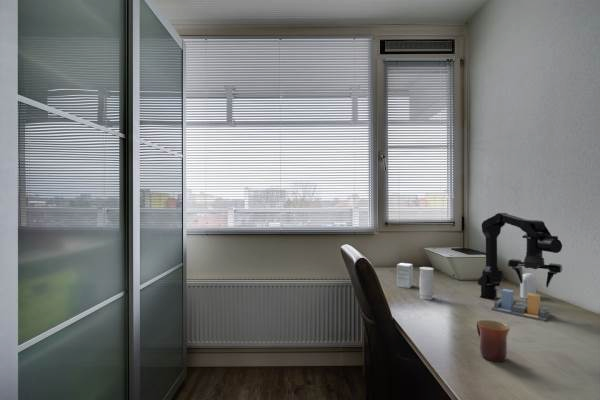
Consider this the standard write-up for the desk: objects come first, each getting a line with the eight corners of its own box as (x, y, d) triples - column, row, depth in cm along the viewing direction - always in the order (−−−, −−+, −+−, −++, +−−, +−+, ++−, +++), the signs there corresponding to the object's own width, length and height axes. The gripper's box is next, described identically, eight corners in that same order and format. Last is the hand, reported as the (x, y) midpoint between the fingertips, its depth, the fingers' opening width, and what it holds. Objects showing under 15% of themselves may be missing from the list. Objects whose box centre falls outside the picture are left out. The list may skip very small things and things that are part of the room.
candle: (419, 299, 169) (419, 269, 169) (419, 295, 175) (419, 266, 175) (433, 300, 166) (434, 270, 166) (433, 296, 173) (433, 267, 173)
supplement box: (400, 283, 199) (400, 262, 199) (413, 285, 195) (413, 264, 195) (396, 286, 193) (396, 264, 193) (409, 288, 189) (409, 265, 189)
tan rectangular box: (529, 311, 149) (529, 293, 149) (540, 313, 146) (540, 294, 146) (527, 313, 146) (527, 294, 146) (538, 315, 144) (538, 296, 144)
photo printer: (527, 294, 179) (527, 271, 179) (536, 296, 175) (537, 272, 175) (518, 297, 173) (518, 273, 173) (527, 299, 169) (528, 275, 169)
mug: (516, 363, 102) (516, 330, 102) (488, 364, 102) (489, 330, 102) (490, 346, 114) (490, 316, 114) (466, 347, 114) (466, 316, 114)
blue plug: (501, 307, 153) (501, 290, 153) (503, 305, 156) (503, 288, 156) (511, 309, 151) (511, 292, 151) (513, 307, 153) (513, 290, 153)
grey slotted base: (491, 310, 153) (491, 303, 153) (498, 304, 161) (498, 298, 161) (545, 321, 139) (545, 314, 139) (550, 314, 147) (550, 307, 147)
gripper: (505, 248, 147) (504, 284, 147) (558, 254, 134) (558, 293, 134) (511, 246, 155) (511, 280, 155) (562, 251, 142) (562, 288, 142)
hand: (534, 285), depth 146 cm, fingers open, 9 cm apart
